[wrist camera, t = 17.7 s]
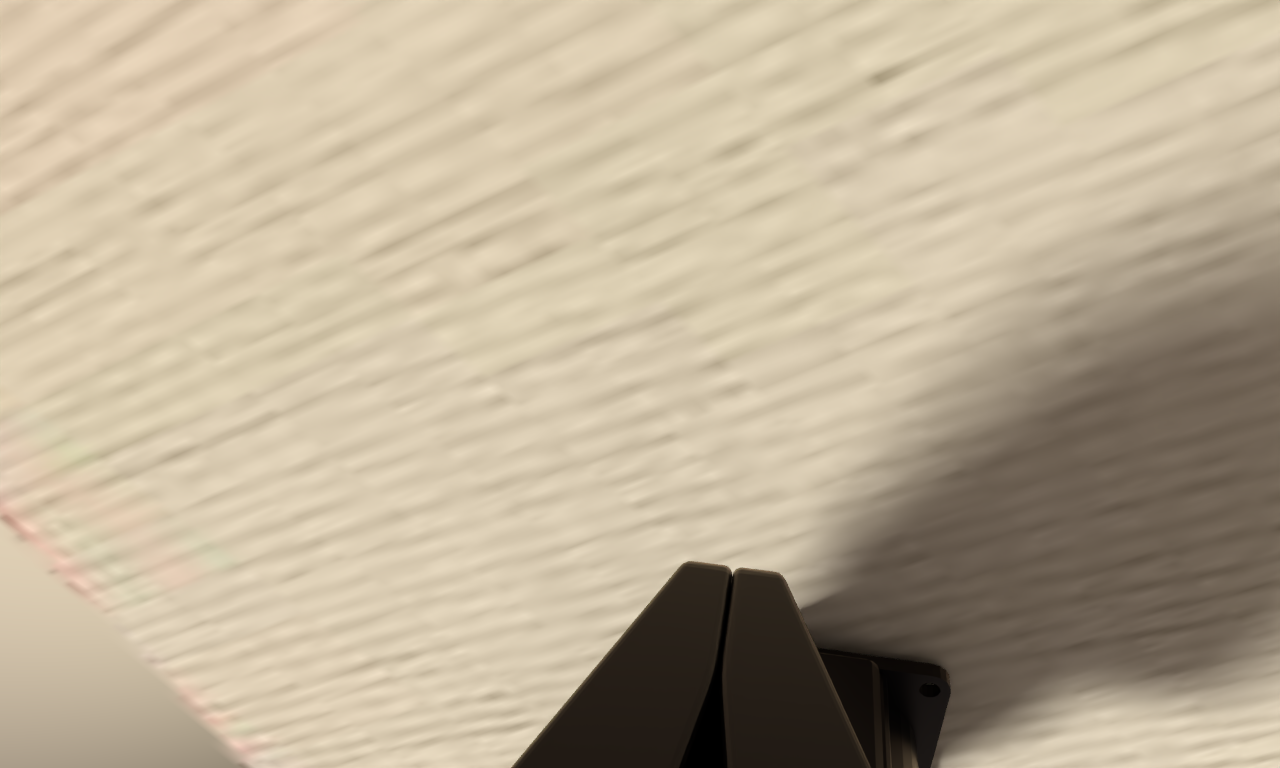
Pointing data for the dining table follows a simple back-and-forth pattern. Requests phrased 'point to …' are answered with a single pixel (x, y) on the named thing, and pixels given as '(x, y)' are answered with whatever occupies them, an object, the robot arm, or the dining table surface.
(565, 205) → the dining table surface
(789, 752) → the robot arm
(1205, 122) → the dining table surface
